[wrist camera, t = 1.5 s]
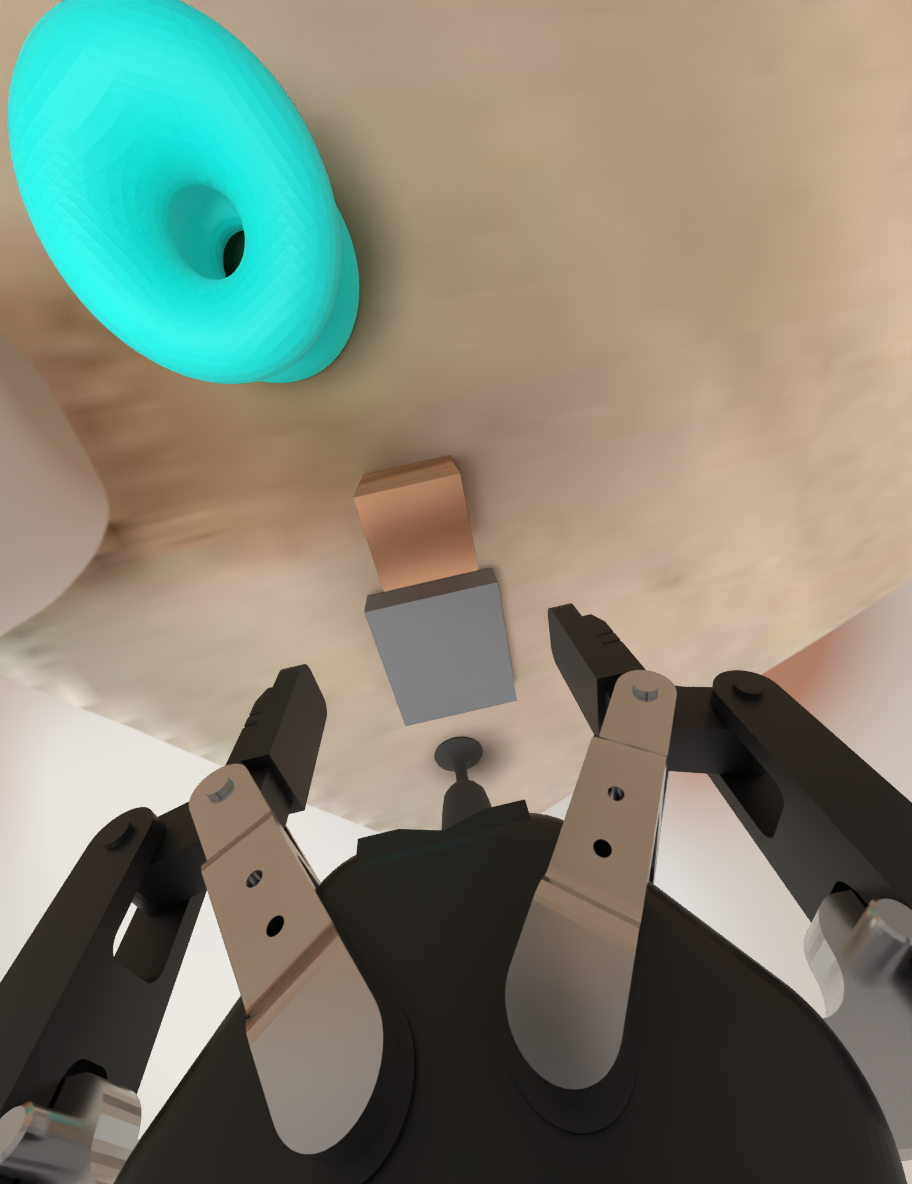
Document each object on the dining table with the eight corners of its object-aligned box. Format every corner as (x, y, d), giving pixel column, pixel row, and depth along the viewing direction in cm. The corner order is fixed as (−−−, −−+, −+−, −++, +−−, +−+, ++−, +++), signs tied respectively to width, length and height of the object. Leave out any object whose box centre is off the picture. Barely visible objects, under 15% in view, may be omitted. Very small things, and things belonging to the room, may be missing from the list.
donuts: (395, 256, 14) (204, 440, 16) (398, 304, 23) (275, 419, 25) (120, -184, 9) (-98, 147, 11) (256, 88, 18) (120, 249, 20)
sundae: (491, 727, 39) (535, 899, 26) (488, 772, 43) (526, 946, 30) (425, 732, 39) (436, 913, 26) (427, 777, 42) (437, 958, 29)
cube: (363, 474, 27) (353, 497, 22) (449, 455, 27) (460, 473, 22) (387, 554, 30) (384, 591, 24) (465, 536, 30) (478, 570, 24)
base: (367, 593, 31) (364, 612, 29) (489, 565, 32) (497, 582, 29) (405, 701, 37) (405, 726, 35) (508, 678, 37) (516, 700, 35)
